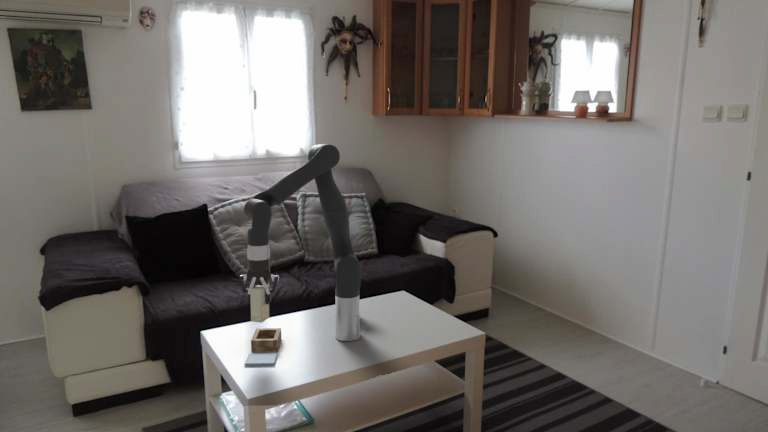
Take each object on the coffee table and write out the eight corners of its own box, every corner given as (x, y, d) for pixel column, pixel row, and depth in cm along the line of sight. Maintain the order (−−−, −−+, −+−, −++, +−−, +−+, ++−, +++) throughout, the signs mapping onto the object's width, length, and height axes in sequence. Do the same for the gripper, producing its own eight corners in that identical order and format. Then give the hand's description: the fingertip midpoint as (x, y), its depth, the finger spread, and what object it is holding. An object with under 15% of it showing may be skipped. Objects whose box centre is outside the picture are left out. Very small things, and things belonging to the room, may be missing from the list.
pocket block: (281, 339, 215) (281, 328, 214) (277, 351, 204) (277, 340, 203) (256, 339, 214) (256, 328, 214) (251, 352, 203) (250, 340, 202)
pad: (277, 355, 200) (277, 353, 200) (274, 365, 193) (274, 363, 192) (248, 356, 200) (248, 353, 200) (244, 366, 192) (244, 363, 192)
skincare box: (262, 323, 194) (261, 289, 192) (250, 322, 195) (249, 288, 193) (269, 317, 200) (269, 284, 198) (258, 315, 201) (257, 283, 199)
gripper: (281, 254, 197) (281, 300, 200) (240, 253, 197) (241, 300, 200) (277, 259, 190) (278, 307, 193) (235, 259, 189) (236, 307, 193)
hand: (259, 303), depth 196 cm, fingers closed on skincare box, 5 cm apart
